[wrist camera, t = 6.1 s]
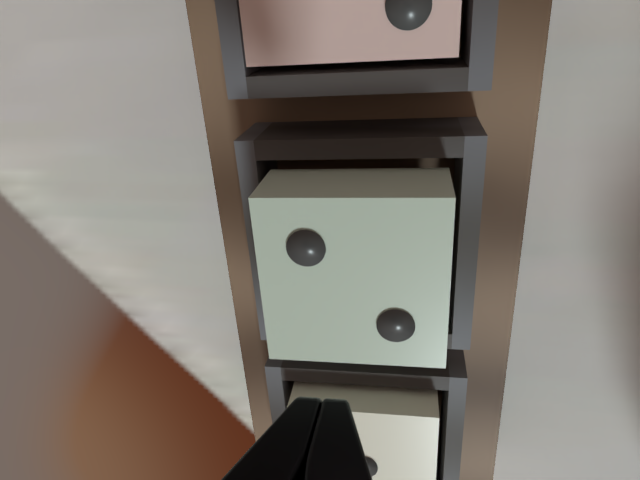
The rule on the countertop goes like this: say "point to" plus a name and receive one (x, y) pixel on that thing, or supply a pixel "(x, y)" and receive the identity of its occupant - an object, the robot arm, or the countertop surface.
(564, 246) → the countertop surface
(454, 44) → the tile three
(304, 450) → the robot arm
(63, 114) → the countertop surface
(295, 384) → the tile one
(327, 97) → the digit board
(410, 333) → the tile two
